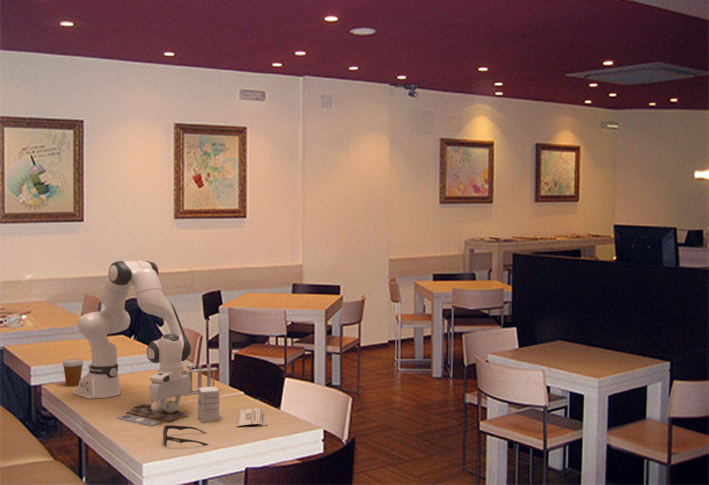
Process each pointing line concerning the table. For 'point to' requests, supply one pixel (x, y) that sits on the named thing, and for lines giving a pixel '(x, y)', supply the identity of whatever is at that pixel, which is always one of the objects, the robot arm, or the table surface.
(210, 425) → the table surface
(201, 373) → the test tube rack
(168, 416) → the socket board
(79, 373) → the disposable coffee cup
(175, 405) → the sage ball
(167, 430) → the sunglasses
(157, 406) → the cream ball
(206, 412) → the supplement box
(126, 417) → the pattern card
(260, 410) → the newspaper
